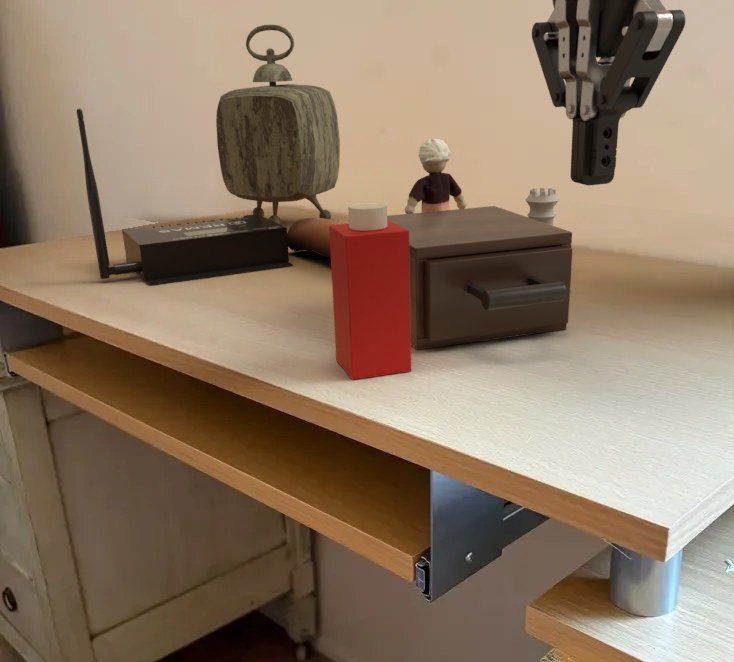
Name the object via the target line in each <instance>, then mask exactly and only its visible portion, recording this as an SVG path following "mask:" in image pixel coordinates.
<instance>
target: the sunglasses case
mask: <svg viewBox="0 0 734 662" xmlns="http://www.w3.org/2000/svg"><path fill="white" fill-rule="evenodd" d="M339 224H348V223H347V222H344V221H340V220H336V219H332V218H330V219H325V218H320V217H305V218H301V219H298V220H296V221H294V222H293V223H292V225H291V226H290V227H288V229H287V237H288V249H290V251H293V252H296V253H297V252H304V251H306V252H314V253H316V254H318V255H321V256H324V257H326V258H330V259H331V251H330V232H329V226H330V225H339Z"/></svg>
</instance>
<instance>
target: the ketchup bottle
mask: <svg viewBox="0 0 734 662" xmlns="http://www.w3.org/2000/svg"><path fill="white" fill-rule="evenodd" d="M347 210H348V212H347V213H348V223H347V224H339V225H330V226H329V232H330V251H331V258H330V268H331V269H330V270H331V286H332V287H331V288H332V305H333V306H332V307H333V325H334V344H335V345H334V346H335V347H334V348H335V360H336V361H337V363H338V364H339V365H340V366H341V368H342V369H343V370H344V371H345V372H346V373H347V375H348V376H349V377H350V378H351V379H352V380H359V379H365V378H372V377H373V378H374V377H381V376H386V375H395V374H401V373H408V372H412V345H411V317H410V250H409V230H407V229H405V228H403V227H401V226H399V225H397V224H395V223H393V222H391V221H389V220H387V216H388V206H387V203H383V202H374V201H372V202H371V201H369V202H368V201H367V202H356V203H352V204H349V205H348V209H347Z"/></svg>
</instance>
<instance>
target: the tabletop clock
mask: <svg viewBox="0 0 734 662" xmlns="http://www.w3.org/2000/svg"><path fill="white" fill-rule="evenodd" d="M266 31H278V32H280V33H282V34H284V35H285V36H286V37H287V38H288V39H289V42H290V44H289V48H288V49H287V50H286V51H284V52H282V53H279V54H275V50H274V49H273V48H267V49H266V51H265V52H266V54H265V55H262V54H259V53H257V52H255V51H253V50H252V49H251V47H250V46H251V45H250V42H251V41H252V39H253V38H254V36H255V35H257V34H258V33H260V32H266ZM294 47H295V40H294V37H293V35H292V33H291V32H290V31H289V30H288V29H287V28H286V27H284V26H282V25H279V24H263V25H260V26H256V27H254V28H253V29H252V30H250V32H249V34H248V35H247V37H246V41H245V48H246V50H247V52H248V54H249V55H250V56H251V57H252V58H254V59H256V60H259V61H262V62H266V63H265V64H262V65H260V66H259V67H258V68H257V69H256V71H255V72H254V73H253V77H252V79H253V80H252V83H269V85H262V86H261V85H260V86H253V87H252V86H251V87H243V88H237V89H232V90H230V91H227V92H226V93H223V94H221V96H220V97H219V101H218V104H217V109H216V118H215V119H216V120H215V122H216V124H215V125H216V141H217V142H216V143H217V144H216V145H217V152H218V158H219V166H220V173H221V177H222V181H223V184H224V185H225V188H226V190H227V191H228V192H229V194H231V195H232V196H235V197H237V198H239V199H242V200H247V201H254V202H256V207H254V209H253V210H252V215H255V214H258V215H260V216H262V217H264V216H265V210H264V209H263V208H262V205H263V203H272V215H270V217H269V218H268V219H269V220H271V221H273V222H276V223H278V224H280V225H281V218H280V216H278V209H279V203H286V202H287V203H289V202H297V201H301V200H307V201H309V202H310V203H311V204H313V206H314V207H315V208H316V209H317V210H318V211H319V217H318V218H325V219H332V214H331V211H330V210H328V209H323V207H322V205H321V204H320V202H319V200H318V198H317V195H320V194H322V193H326V192H328V191H330V190H332V189H335V187H336V184H337V182H338V178H339V173H340V160H341V159H340V155H341V152H340V151H341V137H340V129H339V120H338V113H337V109H336V104H335V101H334V98H333V96H332V93H331V91H330V90H328V89H326V88H323V87H321V86H318V85H311V84H296V83H295V84H294V83H283V84H277V82H292V81H293V78H292V75H291V73H290V71H289V70H288V69H287V67H285V65H282V64H279V63H276V62H277V61H281V60H284V59H285V58H288V57H289V56H290V55H291V54H292V52H293V50H294Z"/></svg>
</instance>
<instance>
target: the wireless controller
mask: <svg viewBox="0 0 734 662" xmlns="http://www.w3.org/2000/svg"><path fill="white" fill-rule="evenodd" d="M76 117H77V121H78V122H77V123H78V130H79V135H80V136H79V137H80V141H81V149H82V156H83V157H82V158H83V167H84V179H85V188H86V196H87V202H88V208H89V215H90V222H91V228H92V233H93V240H94V247H95V252H96V259H97V265H98V270H99V277H100V279H101V280H109V279H110V276H118V275H126V274H134V273H136V274H137V275H138V276H139V277H140V278H141V279H142V281H144V282H145V283H146V285H148V286H156V285H163V284H170V283H179V282H186V281H193V280H200V279H207V278H214V277H221V276H229V275H236V274H244V273H249V272H250V273H251V272H257V271H259V272H260V271H265V270H273V269H281V268H287V267H293V266H294V264H293V263H292V262H290V253H289V252H290V251H289V247H288V237H287V232H288V227H287V226H284V225H282V224H281V223H280V224H278V223H276V222H273V221H271V220H269V218H267V217H264V216H263V217H262V216H260V215H258V214H255V215H253V214H247V215H243V216H242V217H241V218H239V217H235V218H227V219H222V218H221V219H220V220H215V219H211V220H210V221H205V220H203V221H202V222H197V221H194V223H189V222H187V223H186V224H181V223H177V224H176V225H171V224H168V226H163V225H160V227H155V226H152V228H147V227H145V226H136V227H130V228H128V227H127V228H122V229H121V232H122V237H123V238H122V239H123V245H124V252H125V253H124V254H125V262H121V263H113V264H111V263H110V259H109V253H108V252H109V251H108V246H107V245H108V244H107V240H106V234H105V233H106V232H105V227H104V222H103V221H104V220H103V213H102V208H101V201H100V196H99V195H100V194H99V190H98V185H97V181H96V175H95V173H94V168H93V164H92V160H91V155H90V149H89V144H88V137H87V132H86V124H85V120H84V112H83V109H82V108H77V109H76Z"/></svg>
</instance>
